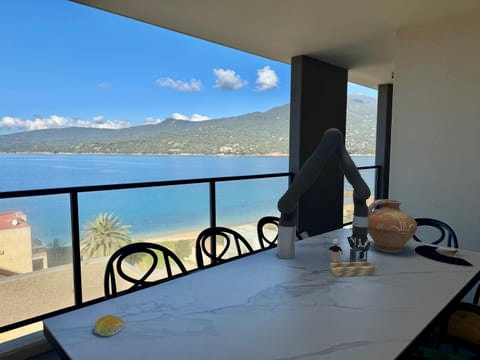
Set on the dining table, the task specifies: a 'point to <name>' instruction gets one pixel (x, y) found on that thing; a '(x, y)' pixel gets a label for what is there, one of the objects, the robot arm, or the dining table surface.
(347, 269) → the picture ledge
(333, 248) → the grandmother figurine
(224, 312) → the dining table surface
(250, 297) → the dining table surface
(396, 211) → the jug
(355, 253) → the dark grey block
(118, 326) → the bread roll
